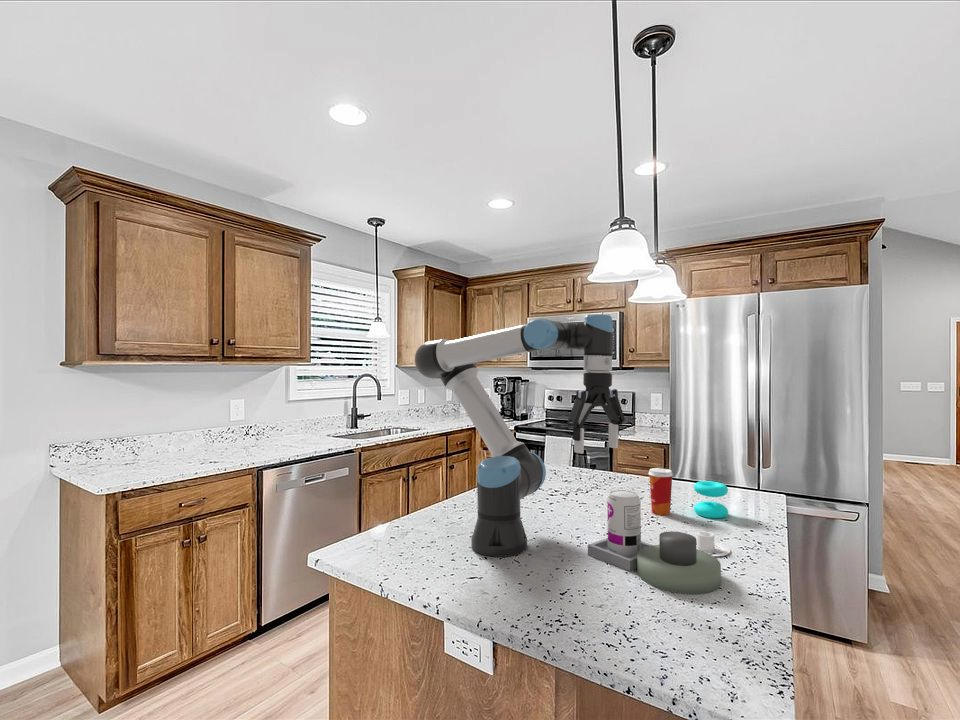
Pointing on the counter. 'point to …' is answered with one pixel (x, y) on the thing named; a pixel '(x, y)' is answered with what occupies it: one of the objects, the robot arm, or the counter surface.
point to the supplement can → (624, 523)
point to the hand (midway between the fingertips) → (596, 450)
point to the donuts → (709, 507)
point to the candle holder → (709, 543)
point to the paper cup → (660, 490)
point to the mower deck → (668, 563)
